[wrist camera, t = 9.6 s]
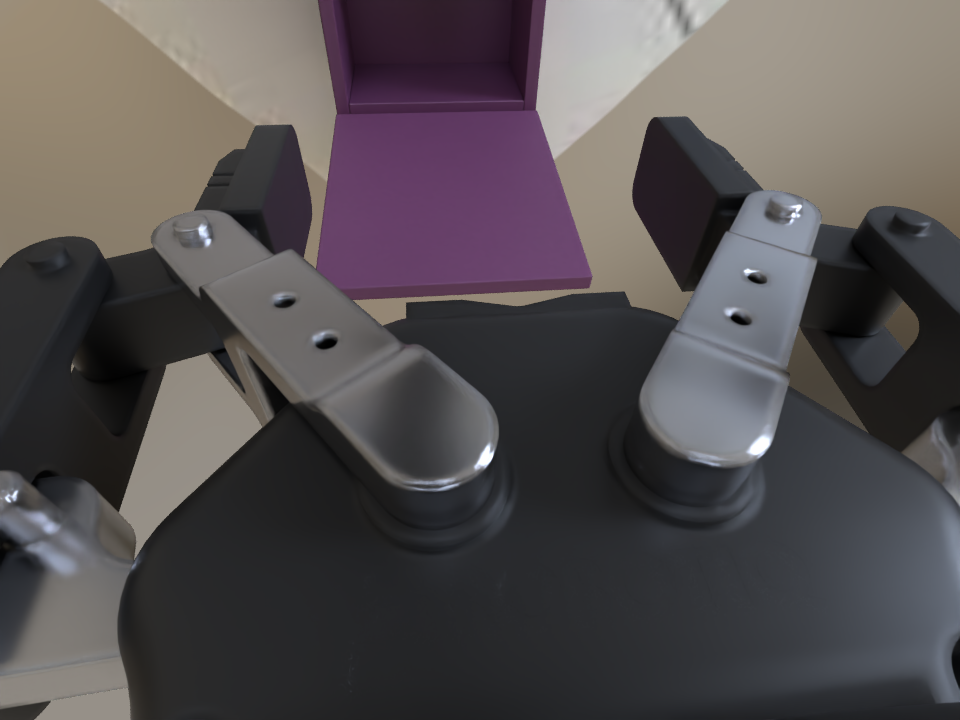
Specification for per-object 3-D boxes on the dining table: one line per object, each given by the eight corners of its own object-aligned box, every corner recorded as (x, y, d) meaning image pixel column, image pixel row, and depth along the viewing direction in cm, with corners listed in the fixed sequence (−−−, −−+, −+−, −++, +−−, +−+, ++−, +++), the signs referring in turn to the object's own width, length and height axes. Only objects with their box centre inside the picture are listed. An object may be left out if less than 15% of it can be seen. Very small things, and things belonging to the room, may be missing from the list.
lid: (312, 289, 23) (316, 302, 24) (593, 276, 24) (590, 289, 25) (335, 113, 33) (338, 126, 33) (537, 109, 34) (536, 121, 34)
